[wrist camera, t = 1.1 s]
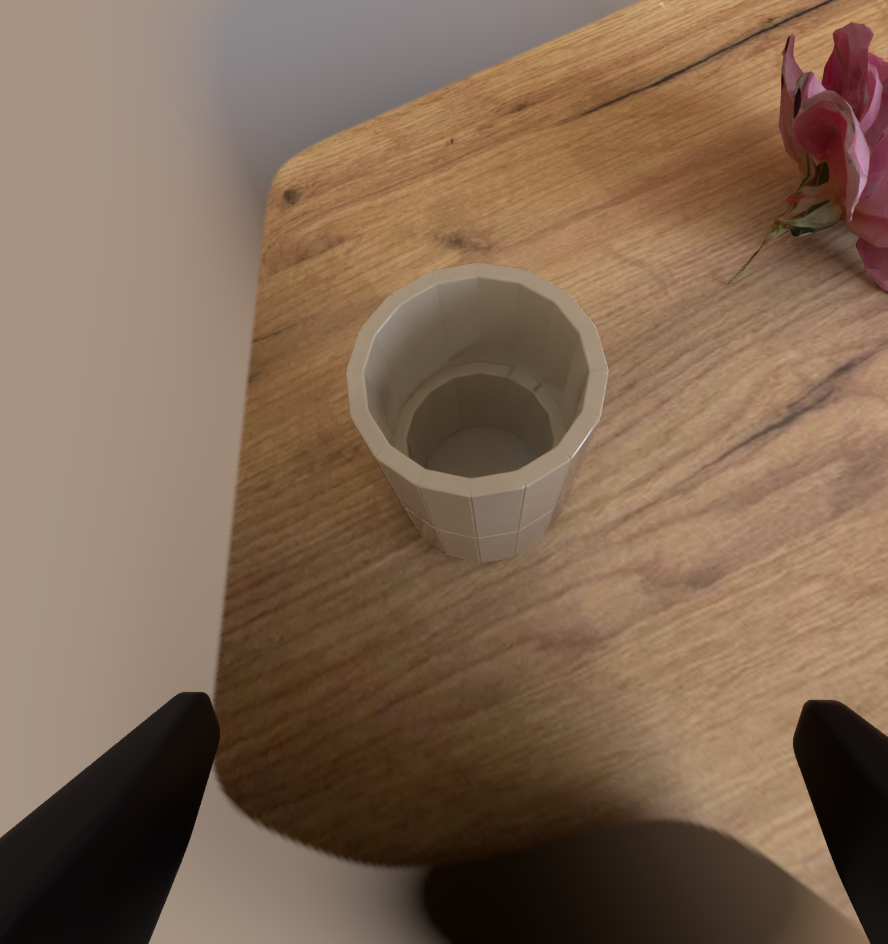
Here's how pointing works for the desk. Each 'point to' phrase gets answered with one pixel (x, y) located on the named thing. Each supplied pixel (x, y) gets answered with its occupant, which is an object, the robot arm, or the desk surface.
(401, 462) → the beige cylindrical cup
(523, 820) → the desk surface
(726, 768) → the desk surface
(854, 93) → the flower
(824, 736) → the robot arm
